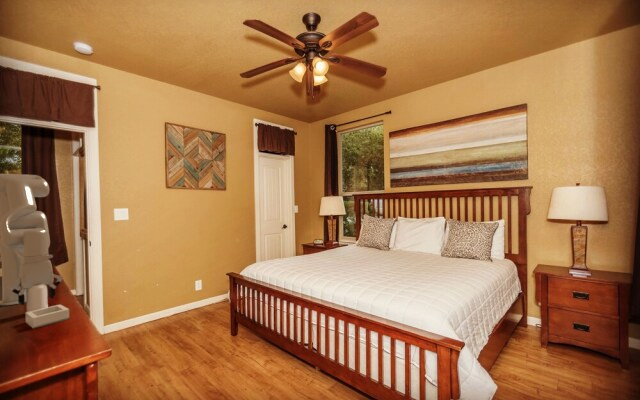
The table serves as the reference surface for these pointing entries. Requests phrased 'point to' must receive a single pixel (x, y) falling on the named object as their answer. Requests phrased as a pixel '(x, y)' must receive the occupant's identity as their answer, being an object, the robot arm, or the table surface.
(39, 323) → the dock socket
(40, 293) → the can
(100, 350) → the table surface
